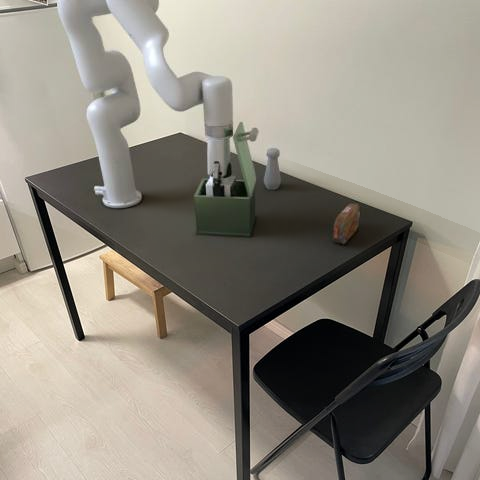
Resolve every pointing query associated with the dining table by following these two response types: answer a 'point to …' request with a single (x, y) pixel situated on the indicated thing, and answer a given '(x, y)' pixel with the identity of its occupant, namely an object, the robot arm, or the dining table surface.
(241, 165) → the bin lid
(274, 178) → the salt shaker
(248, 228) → the bin
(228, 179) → the medicine bottle
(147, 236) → the dining table surface
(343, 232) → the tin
